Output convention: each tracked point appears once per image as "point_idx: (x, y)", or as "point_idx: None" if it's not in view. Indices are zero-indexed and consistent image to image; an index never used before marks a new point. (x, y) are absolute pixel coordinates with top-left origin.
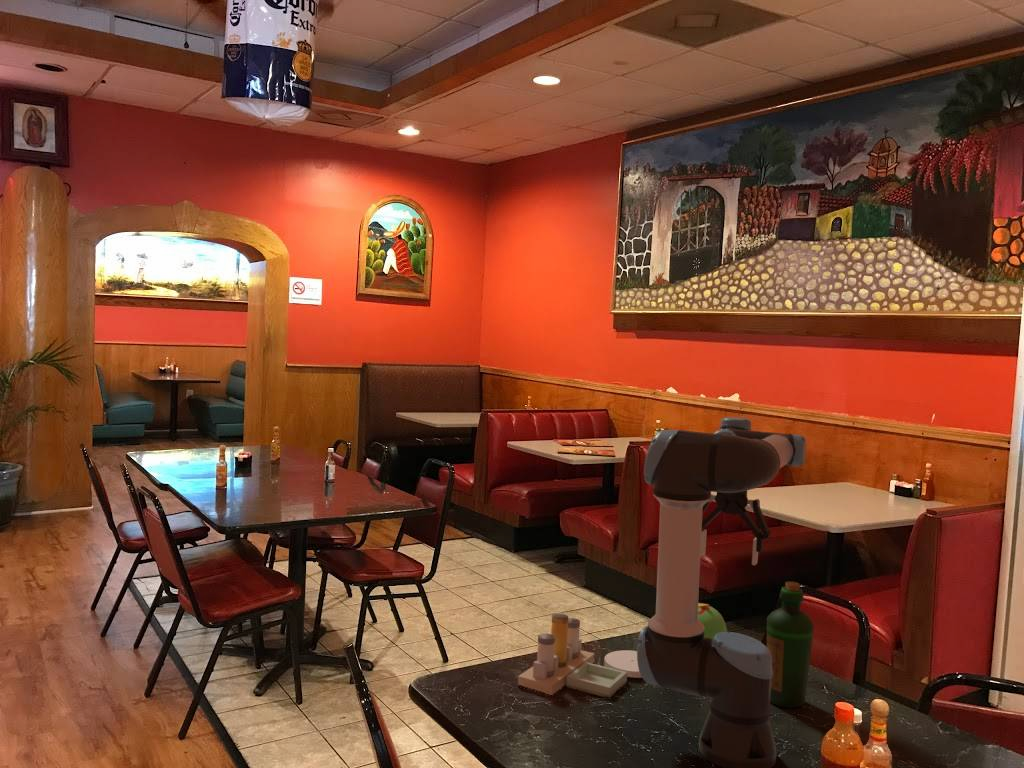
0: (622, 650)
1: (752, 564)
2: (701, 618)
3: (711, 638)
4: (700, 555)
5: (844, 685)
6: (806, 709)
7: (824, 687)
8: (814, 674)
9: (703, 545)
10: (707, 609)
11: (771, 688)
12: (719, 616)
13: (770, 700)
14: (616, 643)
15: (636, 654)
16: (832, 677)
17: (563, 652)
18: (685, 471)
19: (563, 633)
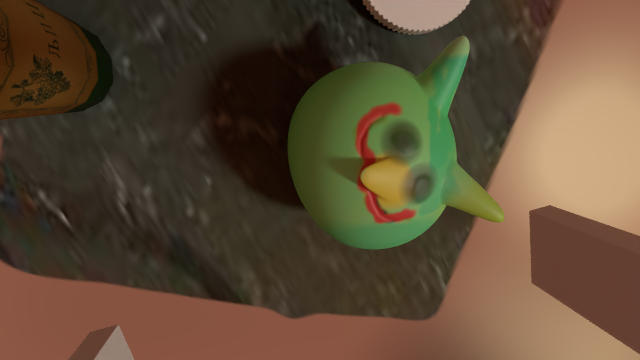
0: (468, 1)
1: (109, 328)
2: (345, 112)
3: (297, 109)
4: (545, 208)
5: (40, 260)
6: None
7: (61, 215)
8: (120, 263)
9: (621, 270)
10: (358, 172)
11: (54, 11)
12: (323, 194)
13: (79, 25)
14: (504, 83)
15: (433, 4)
16: (84, 279)
17: None
18: None
19: None
